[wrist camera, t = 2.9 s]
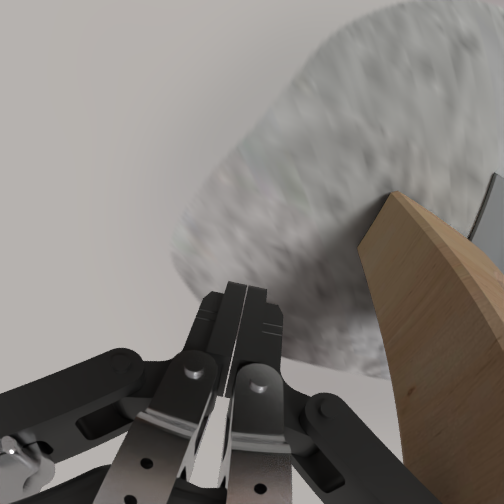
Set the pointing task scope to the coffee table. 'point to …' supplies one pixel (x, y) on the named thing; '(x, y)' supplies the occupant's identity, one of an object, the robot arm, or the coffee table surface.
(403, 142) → the coffee table surface
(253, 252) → the coffee table surface
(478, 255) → the decorative block
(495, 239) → the mat
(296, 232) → the coffee table surface
